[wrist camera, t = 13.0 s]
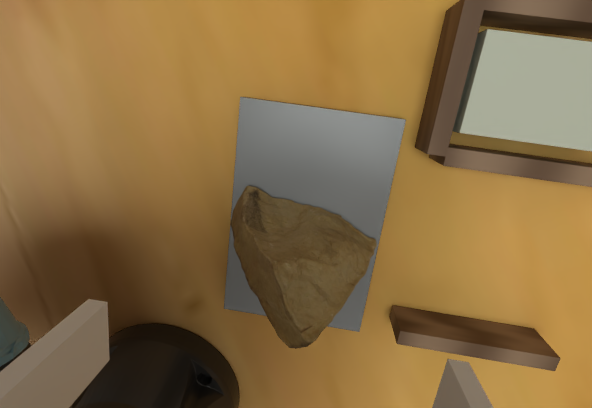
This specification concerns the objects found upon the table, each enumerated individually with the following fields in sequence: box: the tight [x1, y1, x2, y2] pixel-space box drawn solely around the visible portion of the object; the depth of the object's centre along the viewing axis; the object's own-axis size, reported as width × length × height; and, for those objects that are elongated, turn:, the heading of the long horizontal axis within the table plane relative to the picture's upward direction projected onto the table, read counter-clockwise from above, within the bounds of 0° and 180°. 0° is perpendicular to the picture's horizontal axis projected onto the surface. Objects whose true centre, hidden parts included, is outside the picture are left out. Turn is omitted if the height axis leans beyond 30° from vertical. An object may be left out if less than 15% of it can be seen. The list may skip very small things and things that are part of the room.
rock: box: [230, 186, 377, 348], centre depth 24 cm, size 11×9×10 cm
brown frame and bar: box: [390, 0, 592, 371], centre depth 25 cm, size 14×25×4 cm, turn 173°
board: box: [224, 97, 406, 332], centre depth 28 cm, size 12×18×1 cm, turn 173°
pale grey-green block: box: [453, 29, 592, 151], centre depth 23 cm, size 10×6×4 cm, turn 83°
